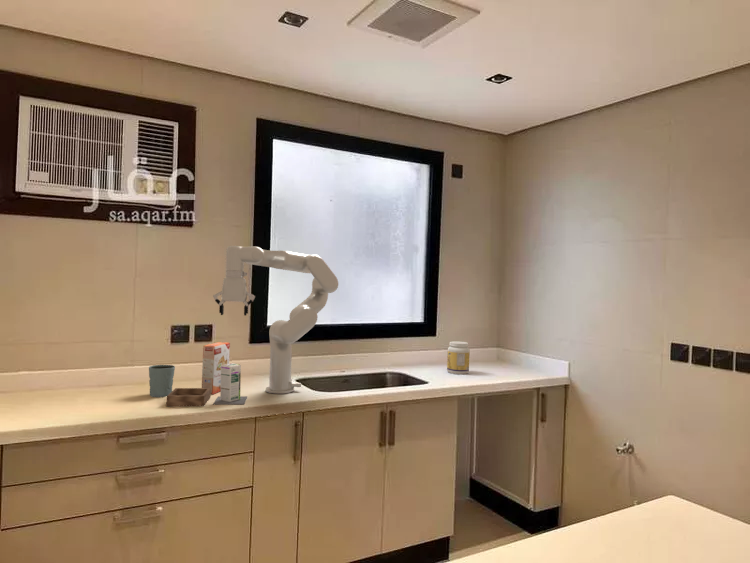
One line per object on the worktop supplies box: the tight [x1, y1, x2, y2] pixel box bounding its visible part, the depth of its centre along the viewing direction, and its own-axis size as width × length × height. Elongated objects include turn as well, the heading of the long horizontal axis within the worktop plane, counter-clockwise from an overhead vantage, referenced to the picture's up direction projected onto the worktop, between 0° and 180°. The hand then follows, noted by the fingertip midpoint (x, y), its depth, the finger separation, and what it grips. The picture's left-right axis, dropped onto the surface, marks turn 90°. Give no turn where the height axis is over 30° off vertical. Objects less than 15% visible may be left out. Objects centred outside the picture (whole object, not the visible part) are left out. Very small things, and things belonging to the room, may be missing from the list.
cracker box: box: [201, 341, 231, 395], centre depth 228 cm, size 14×6×21 cm, turn 168°
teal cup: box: [148, 364, 176, 398], centre depth 219 cm, size 10×10×12 cm
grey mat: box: [212, 395, 248, 406], centre depth 212 cm, size 12×12×1 cm
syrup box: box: [219, 362, 242, 402], centre depth 212 cm, size 6×6×14 cm
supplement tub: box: [446, 340, 471, 375], centre depth 290 cm, size 12×12×17 cm
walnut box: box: [166, 387, 212, 407], centre depth 208 cm, size 14×14×4 cm
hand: (233, 315), depth 221 cm, fingers open, 9 cm apart
